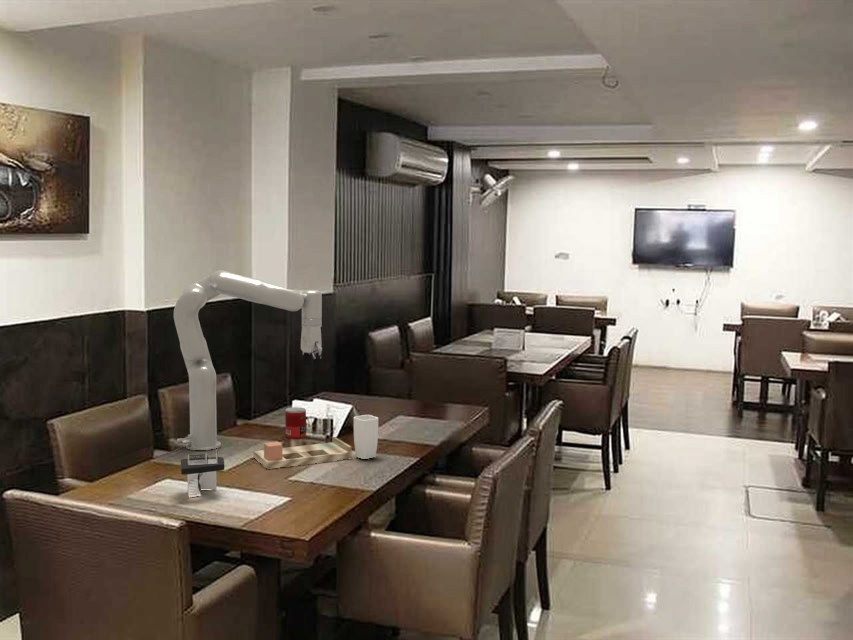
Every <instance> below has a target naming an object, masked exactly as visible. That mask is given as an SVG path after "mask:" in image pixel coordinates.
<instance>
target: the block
mask: <svg viewBox="0 0 853 640" xmlns="http://www.w3.org/2000/svg"><path fill="white" fill-rule="evenodd" d="M282 448H283V444H282V443H280V442H279V441H270V442H263V450H264V458H266V459H267V460H268V461H271V460H279V459H283V453H282Z"/></svg>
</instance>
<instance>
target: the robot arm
mask: <svg viewBox="0 0 853 640" xmlns="http://www.w3.org/2000/svg"><path fill="white" fill-rule="evenodd" d="M220 295H224V296H228V297H231V298H235V299H236V298H237V299H241V300H244V301H247V302H252V303H256V304H260V305H261V304H262V305H265V306H270V307H273V308H277V309H282V310H285V311H289V312H297V311H299V310H301V335H300V337H301V338H300V350H301V351H302V365H303V366H312V370H322V369H321V368H322V352H323V347H322V332H321V331H322V330H321V328H322V327H323V326H322V324H323V323H322V320H323V319H322V316H323V315H322V313H323V311H322V310H323V309H322V308H323V305H322V304H323V299H322V297H323V294H322V291H321V290H316V289H305V290H300V289H293V288H291V289H290V288H289V289H287V288H283V287H280V286H277V285H273V284H270V283H268V282H265V281H264V280H262V279H261V280H260V279H257V278H254V277H250V276H245V275H241V274H237V273H234V272H230V271H227V270H223V269H218V270H216V271H213V273H210V274H209V275H207V276H205V277H204V278H203V277H202V278H200V279H199V280H197V281H195V282H193V283H191V284H189V285H187V286H186V288H184V290H183V291H182V294H181V296H179V298H178V300H177V301H176V302H175V305H174V309H173V320H174V325H175V328H176V332H177V337H178V340H179V347H180V351H181V354H182V357H183V360H184V364H185V367H186V370H187V373H188V382H189V383H188V384H189V385H188V386H189V387H188V390H189V401H188V402H189V434H187V436H185V437H184V438H183V437H180V438H177V439H176V444H179V445H180V444H182V445H185V448H186V449H187V450H189V449H190V451H195V450H206V451H211V449H213V450H216V448H217V449H220V448H221V446H222V443H221V441H220V440H217V439H218V438H217V434H218V433H217V428H218V427H217V373H216V370H215V368H214V365H213V362H212V358H211V354H210V351H209V348H208V344H207V343H208V342H207V341H206V338H205V337H204V336H205V335H204V334H203V329H202V327H201V324H200V320H199V311H200V309H202V308H203V307H204V306H205V305H206V303H208V302H209V301H210V300H213V299H215V298H217V297H219V296H220Z"/></svg>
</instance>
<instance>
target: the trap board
mask: <svg viewBox="0 0 853 640" xmlns="http://www.w3.org/2000/svg"><path fill="white" fill-rule="evenodd" d="M331 439H332V440H331V442H330V441H329V442H323V443H315V444H305V445H297V446H289V447H282V453H283V459H279V460H271V461H268V460H267V459H266V458H264V449H263V450H254V451H253V452H252V454H253V457H254V458H255V459H256V460H257V461H258V462H257V461H256V460H255V459H254V458H253V457H252V458H253V459H254V460H255V461H256V462H257V463H259V462H260V463H261V464H262V465H263V466H262V465H261V464H260V463H259V464H260V465H261V466H262V467H263V468H265V467H266V468H267V469H270V470H273V469H272V468H278V469H281V468H280V467H286V468H291V467H290V466H294V467H299V466H298V465H301V466H307V465H308V464H309V465H316V464H315V463H317V464H323V462H325V463H331V462H330V461H333V462H338V461H337V460H341V461H343V460H342V459H349V458H352V457H353V452H352V451H353V450H352V449H353V446H351V445H350V444H348V443H346V442H344V441H343V440H341V439H340V438H338V437H336V436H332V437H331ZM349 460H350V459H349ZM309 465H308V466H309ZM266 468H265V469H266ZM267 469H266V470H267Z"/></svg>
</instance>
